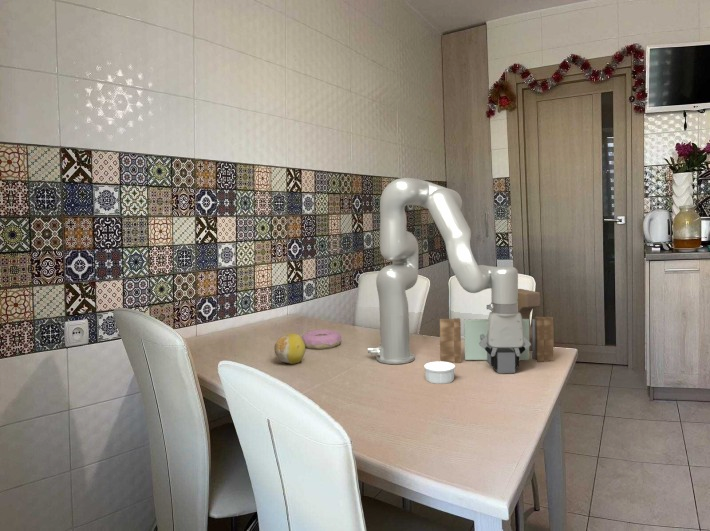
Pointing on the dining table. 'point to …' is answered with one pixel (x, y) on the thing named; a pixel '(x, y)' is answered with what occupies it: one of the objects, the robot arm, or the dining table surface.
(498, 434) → the dining table surface
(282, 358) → the fruit
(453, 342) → the frame
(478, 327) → the door
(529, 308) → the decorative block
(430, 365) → the ramekin
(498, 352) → the grey block
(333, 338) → the donut
